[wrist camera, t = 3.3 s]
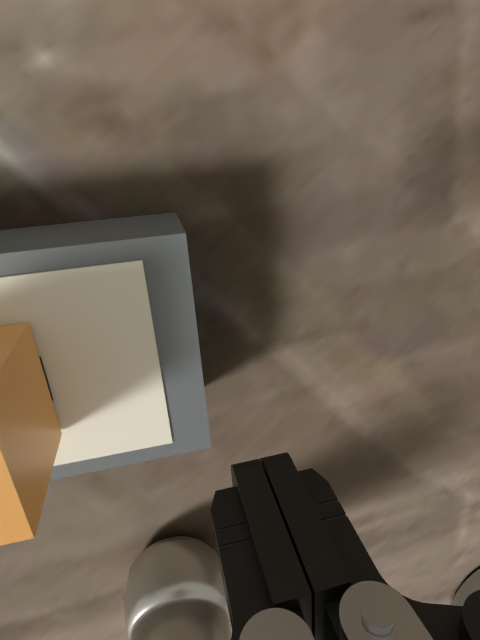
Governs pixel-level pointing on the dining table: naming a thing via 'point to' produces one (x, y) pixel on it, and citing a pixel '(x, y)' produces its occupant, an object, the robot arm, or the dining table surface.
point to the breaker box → (111, 336)
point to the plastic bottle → (176, 593)
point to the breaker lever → (24, 434)
